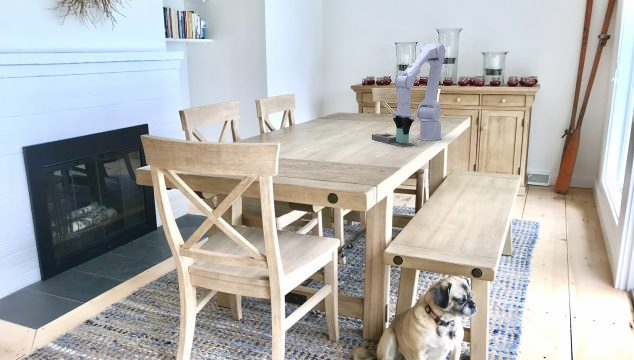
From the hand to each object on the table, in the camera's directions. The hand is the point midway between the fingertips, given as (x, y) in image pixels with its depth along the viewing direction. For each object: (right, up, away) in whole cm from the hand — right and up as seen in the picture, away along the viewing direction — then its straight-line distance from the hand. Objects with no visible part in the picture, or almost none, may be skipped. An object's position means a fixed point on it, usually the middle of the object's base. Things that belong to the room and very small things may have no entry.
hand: (403, 133), depth 234 cm
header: (-6, -2, +12) cm, 13 cm away
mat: (0, -5, +1) cm, 5 cm away
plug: (0, -4, +1) cm, 4 cm away
